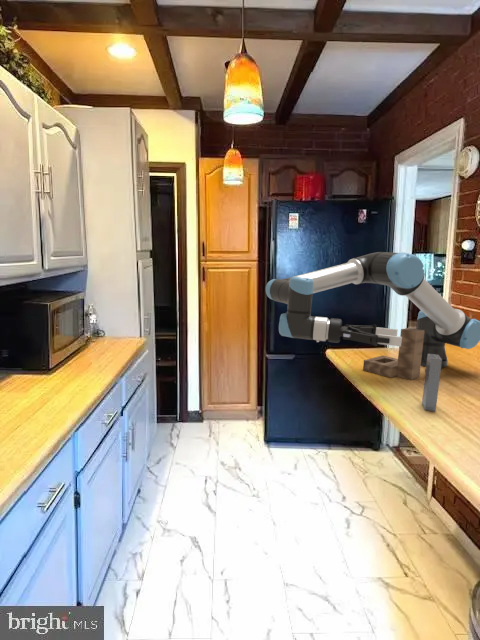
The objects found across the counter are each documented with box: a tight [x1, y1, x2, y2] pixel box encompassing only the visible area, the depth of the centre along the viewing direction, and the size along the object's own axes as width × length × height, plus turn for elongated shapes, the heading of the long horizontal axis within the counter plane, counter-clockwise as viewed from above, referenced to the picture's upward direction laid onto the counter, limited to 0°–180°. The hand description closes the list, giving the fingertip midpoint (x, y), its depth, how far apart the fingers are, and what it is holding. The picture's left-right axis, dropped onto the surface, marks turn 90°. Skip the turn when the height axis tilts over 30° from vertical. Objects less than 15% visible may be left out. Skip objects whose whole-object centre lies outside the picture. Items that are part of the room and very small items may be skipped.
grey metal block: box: [421, 354, 442, 412], centre depth 133 cm, size 4×6×16 cm, turn 165°
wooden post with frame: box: [362, 327, 425, 381], centre depth 168 cm, size 18×14×18 cm
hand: (399, 337), depth 134 cm, fingers open, 13 cm apart
